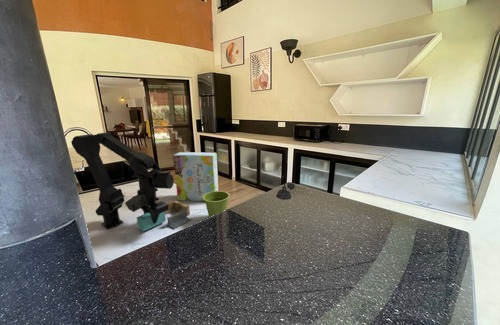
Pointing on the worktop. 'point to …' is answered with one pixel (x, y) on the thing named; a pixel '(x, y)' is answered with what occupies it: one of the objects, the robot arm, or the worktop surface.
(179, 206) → the tan wooden l-shaped piece
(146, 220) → the teal rectangular block
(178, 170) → the snack box
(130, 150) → the robot arm
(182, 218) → the bookend
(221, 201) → the plant pot
